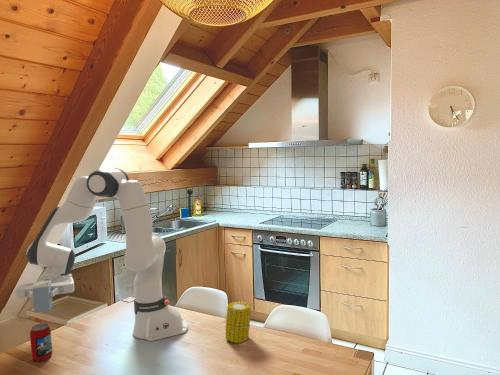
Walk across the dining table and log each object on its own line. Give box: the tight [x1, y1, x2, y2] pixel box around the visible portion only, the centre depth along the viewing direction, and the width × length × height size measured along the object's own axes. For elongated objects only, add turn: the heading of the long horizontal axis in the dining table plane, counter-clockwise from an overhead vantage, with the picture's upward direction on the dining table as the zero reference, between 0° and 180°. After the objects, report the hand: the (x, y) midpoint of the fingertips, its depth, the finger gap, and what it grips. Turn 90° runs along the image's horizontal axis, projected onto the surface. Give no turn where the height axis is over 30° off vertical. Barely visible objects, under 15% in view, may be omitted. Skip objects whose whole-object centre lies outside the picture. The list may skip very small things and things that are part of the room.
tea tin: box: [32, 280, 53, 314], centre depth 149 cm, size 5×5×10 cm
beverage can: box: [29, 322, 53, 362], centre depth 149 cm, size 7×7×12 cm
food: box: [224, 300, 252, 344], centre depth 159 cm, size 15×12×10 cm
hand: (42, 295), depth 148 cm, fingers closed on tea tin, 5 cm apart
